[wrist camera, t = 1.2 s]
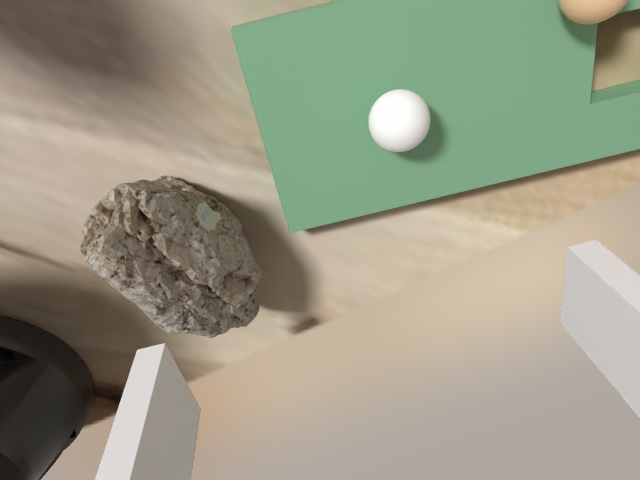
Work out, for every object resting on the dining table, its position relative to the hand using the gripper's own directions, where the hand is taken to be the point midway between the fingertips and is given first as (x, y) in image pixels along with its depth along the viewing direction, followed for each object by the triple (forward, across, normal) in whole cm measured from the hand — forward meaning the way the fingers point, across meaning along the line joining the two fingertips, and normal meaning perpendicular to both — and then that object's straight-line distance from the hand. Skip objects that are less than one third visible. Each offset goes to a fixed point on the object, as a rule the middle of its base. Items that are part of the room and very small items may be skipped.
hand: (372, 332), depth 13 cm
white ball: (+16, +5, 0) cm, 17 cm away
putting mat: (+20, +11, 0) cm, 23 cm away
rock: (+20, -10, -5) cm, 23 cm away
